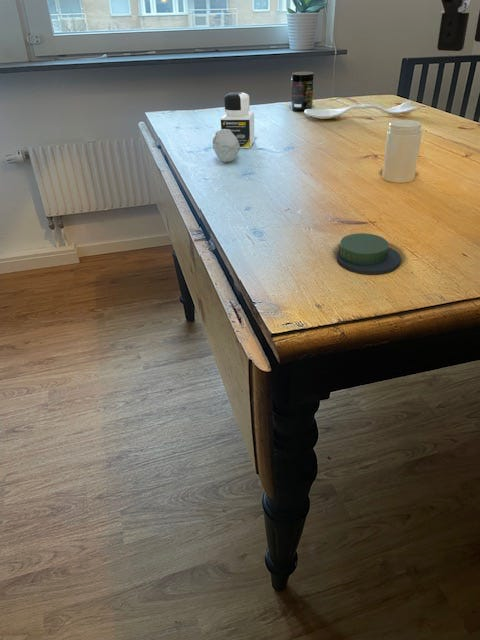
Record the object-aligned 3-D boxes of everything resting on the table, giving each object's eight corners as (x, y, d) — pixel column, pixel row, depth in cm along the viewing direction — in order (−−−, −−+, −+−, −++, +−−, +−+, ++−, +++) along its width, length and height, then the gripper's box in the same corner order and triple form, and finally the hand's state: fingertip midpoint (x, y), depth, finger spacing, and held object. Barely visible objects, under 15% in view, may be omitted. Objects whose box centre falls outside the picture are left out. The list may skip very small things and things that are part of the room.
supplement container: (315, 107, 159) (316, 71, 153) (308, 112, 154) (310, 75, 148) (295, 107, 162) (295, 71, 156) (288, 111, 156) (288, 74, 151)
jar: (409, 172, 104) (417, 118, 98) (418, 182, 98) (427, 126, 93) (378, 173, 104) (384, 120, 98) (385, 183, 99) (392, 128, 93)
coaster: (393, 245, 76) (393, 241, 75) (406, 274, 68) (407, 270, 68) (333, 246, 76) (333, 243, 76) (340, 275, 69) (340, 271, 69)
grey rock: (231, 155, 119) (230, 124, 115) (245, 162, 114) (244, 130, 110) (208, 160, 117) (206, 128, 113) (222, 167, 112) (220, 135, 108)
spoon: (419, 118, 142) (421, 105, 140) (305, 123, 143) (306, 110, 141) (410, 111, 149) (412, 99, 147) (302, 116, 150) (303, 103, 148)
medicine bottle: (222, 148, 124) (218, 96, 118) (227, 140, 130) (225, 90, 124) (250, 148, 123) (248, 96, 116) (254, 141, 129) (253, 90, 122)
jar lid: (329, 250, 74) (330, 239, 73) (368, 240, 76) (369, 229, 75) (357, 269, 69) (358, 258, 68) (397, 258, 71) (399, 247, 70)
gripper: (497, -142, 49) (463, 55, 58) (566, -130, 58) (526, 39, 68) (427, -128, 53) (406, 52, 63) (500, -118, 63) (472, 38, 72)
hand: (468, 45), depth 65 cm, fingers open, 9 cm apart
